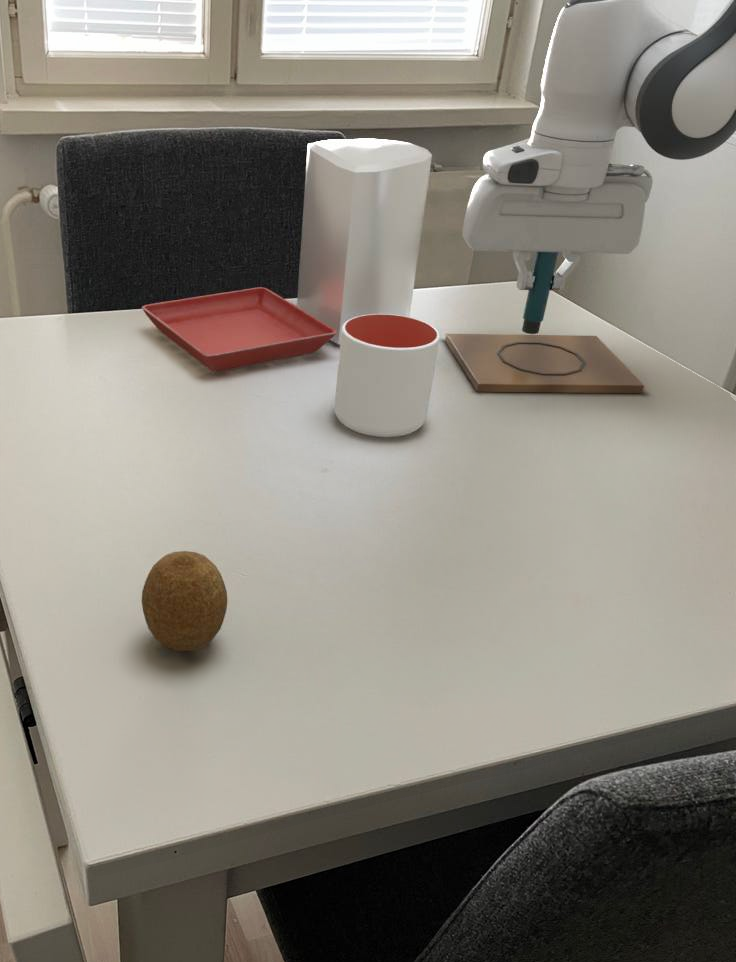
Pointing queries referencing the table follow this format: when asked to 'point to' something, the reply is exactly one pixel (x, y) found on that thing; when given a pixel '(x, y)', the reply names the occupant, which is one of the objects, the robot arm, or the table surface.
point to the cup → (385, 374)
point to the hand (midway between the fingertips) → (539, 289)
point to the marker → (539, 291)
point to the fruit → (184, 600)
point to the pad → (541, 364)
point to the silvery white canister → (361, 228)
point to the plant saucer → (239, 328)
